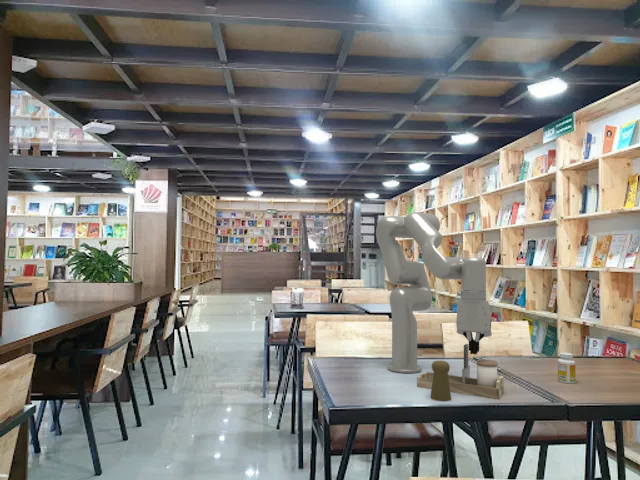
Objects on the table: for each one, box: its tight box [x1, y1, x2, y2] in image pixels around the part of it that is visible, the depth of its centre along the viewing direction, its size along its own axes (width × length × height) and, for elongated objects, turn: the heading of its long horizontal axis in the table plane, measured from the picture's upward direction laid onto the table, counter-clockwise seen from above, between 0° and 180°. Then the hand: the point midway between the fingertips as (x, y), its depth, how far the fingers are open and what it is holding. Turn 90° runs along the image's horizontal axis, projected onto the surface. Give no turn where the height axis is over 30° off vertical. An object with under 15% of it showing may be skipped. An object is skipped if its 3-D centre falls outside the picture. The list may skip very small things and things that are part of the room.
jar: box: [476, 358, 498, 388], centre depth 140 cm, size 6×6×10 cm
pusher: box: [461, 343, 471, 384], centre depth 143 cm, size 7×1×14 cm, turn 149°
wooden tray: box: [416, 371, 505, 400], centre depth 144 cm, size 9×25×5 cm, turn 59°
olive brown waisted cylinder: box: [430, 360, 452, 402], centre depth 134 cm, size 6×6×11 cm
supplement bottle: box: [557, 352, 577, 384], centre depth 155 cm, size 5×5×10 cm
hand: (474, 353), depth 142 cm, fingers closed
